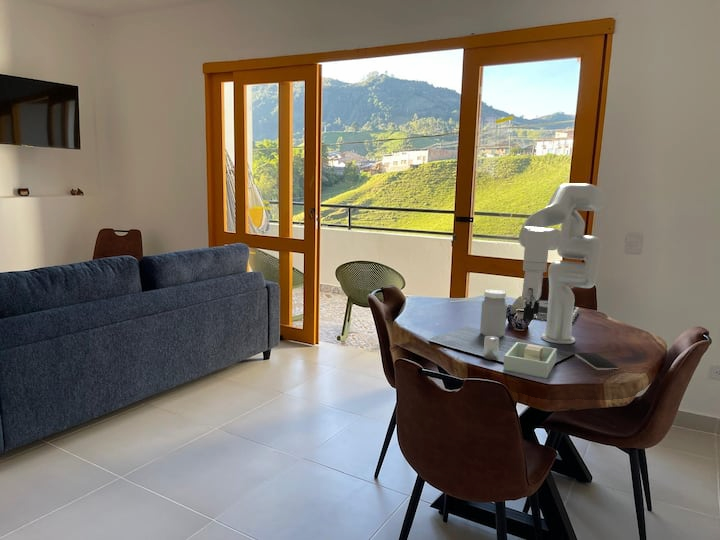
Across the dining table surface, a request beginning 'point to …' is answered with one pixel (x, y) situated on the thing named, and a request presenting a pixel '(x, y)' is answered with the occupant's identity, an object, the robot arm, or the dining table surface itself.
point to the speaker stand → (544, 316)
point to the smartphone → (596, 361)
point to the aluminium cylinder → (491, 347)
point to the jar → (493, 313)
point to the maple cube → (533, 352)
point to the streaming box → (543, 307)
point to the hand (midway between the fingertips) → (530, 316)
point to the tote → (529, 361)
